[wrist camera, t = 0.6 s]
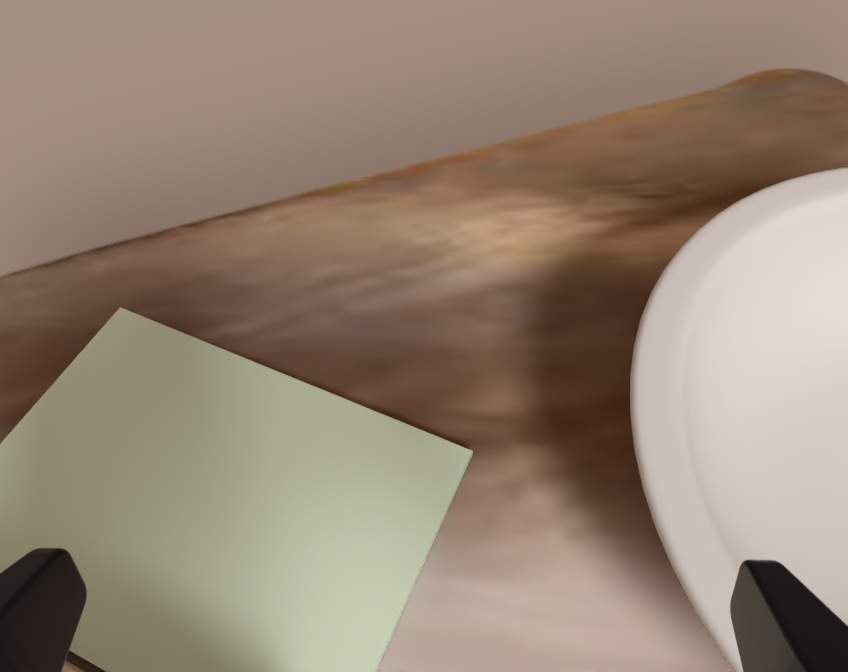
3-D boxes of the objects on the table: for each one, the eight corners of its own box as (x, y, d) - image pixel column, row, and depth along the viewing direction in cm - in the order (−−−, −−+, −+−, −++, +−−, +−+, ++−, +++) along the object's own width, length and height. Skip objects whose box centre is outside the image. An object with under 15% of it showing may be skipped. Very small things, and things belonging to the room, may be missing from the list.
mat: (321, 794, 20) (319, 794, 20) (-90, 558, 24) (-98, 554, 24) (472, 455, 26) (472, 450, 26) (123, 312, 30) (120, 307, 30)
